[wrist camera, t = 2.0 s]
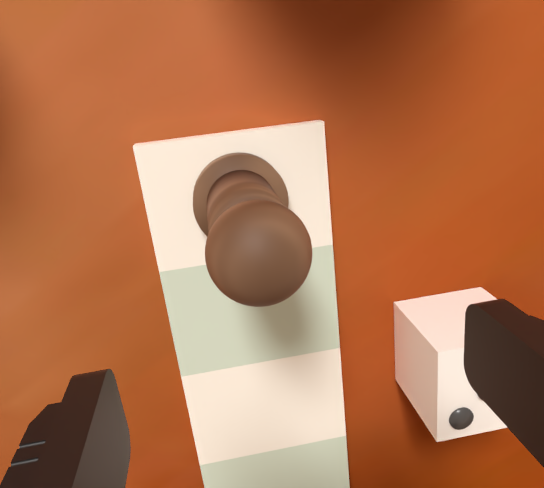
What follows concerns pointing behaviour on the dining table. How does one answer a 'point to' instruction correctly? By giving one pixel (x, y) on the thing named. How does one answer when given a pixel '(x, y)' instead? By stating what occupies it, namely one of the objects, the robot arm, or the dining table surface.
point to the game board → (252, 321)
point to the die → (440, 364)
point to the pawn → (250, 231)
